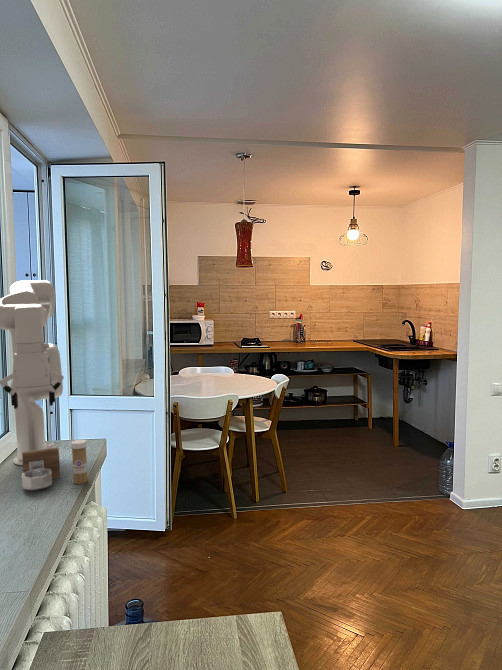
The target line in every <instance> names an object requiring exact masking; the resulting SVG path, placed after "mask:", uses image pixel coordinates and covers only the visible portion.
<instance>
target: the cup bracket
mask: <svg viewBox="0 0 502 670" xmlns="http://www.w3.org/2000/svg"><path fill="white" fill-rule="evenodd" d="M52 484H53V479H52V472H51V469H47V468H44V460H36V461H29V471H26V472H24V473H23V472H22V473H21V487H22V489H23V490H26V491H37V490H38V491H40V490H43V489H47V488H48V487H50V486H51V485H52Z"/></svg>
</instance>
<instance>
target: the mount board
mask: <svg viewBox="0 0 502 670" xmlns="http://www.w3.org/2000/svg"><path fill="white" fill-rule="evenodd" d="M59 449H60V448H59V447H58V446H57V447H55V448H49V449H41V450H33V451H26V452H22V458H23V465H22V471H23V472H22V473H24V472H26V471H29V461H36V460H44V468H47V469H51V472H52V480H55V479H56V480H57V479H61V470H60V469H61V467H60V453H59V452H60V450H59Z"/></svg>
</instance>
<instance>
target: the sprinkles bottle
mask: <svg viewBox="0 0 502 670" xmlns="http://www.w3.org/2000/svg"><path fill="white" fill-rule="evenodd" d="M70 445H71V452H72V454H71V455H72V473H73V475H72V476H73V484H78V485H81V484H82V485H83V484H86V483H87V482H88V480H89V479H88V460H87V458H88V457H87V441H86V440H85V439H76V440H73V441H71V444H70Z"/></svg>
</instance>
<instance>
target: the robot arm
mask: <svg viewBox="0 0 502 670" xmlns="http://www.w3.org/2000/svg"><path fill="white" fill-rule="evenodd" d="M55 304H56V291H55V287H54V285H53V284H52V283H51V282H50V281H48V280H44V279H43V280H19V281H16V282H14V283H13V284H11V286H10V287H9V290H8V295H5V296H4V297H2V298H0V330H2V331H9V332H10V339H11V349H12V350H11V351H12V361H13V362H12V373H11V374H9V375H7V376H5V377H4V378H2V379H0V385H1V387H2V388H3V390H4V391H5V392H7V394H9V396H10V402H11V406H13V408H14V417H15V430H16V431H15V433H16V447H17V456H15V457H14V458H13V464H15V465H18V466H23V458H22V452H26V451H33V450H41V449H49V448H56V444H55V442H51V443H49V444H48V443H46V433H45V432H46V430H45V416H44V410H43V408H42V407H41V406H40V405H39V404H38V403H37V401H40V400H49V406H50V407H52V406H53V405H54V403H56V399H57V398H59V397H62V394H63V389H64V384H63V381H64V377H65V376H64V375H63V373H62V364H61V363H62V362H61V355H60V351H59V348H58V346H57V345H56V344H54V343H46V342H45V341H44V340H45V339H44V338H45V337H44V327H45V325H46V323H48V321H49V320H48V319H49V318H51V317H52V316H53V315H54V313H55ZM10 380H11V381H10ZM8 381H10V386H9V384H8V383H7V382H8Z"/></svg>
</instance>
